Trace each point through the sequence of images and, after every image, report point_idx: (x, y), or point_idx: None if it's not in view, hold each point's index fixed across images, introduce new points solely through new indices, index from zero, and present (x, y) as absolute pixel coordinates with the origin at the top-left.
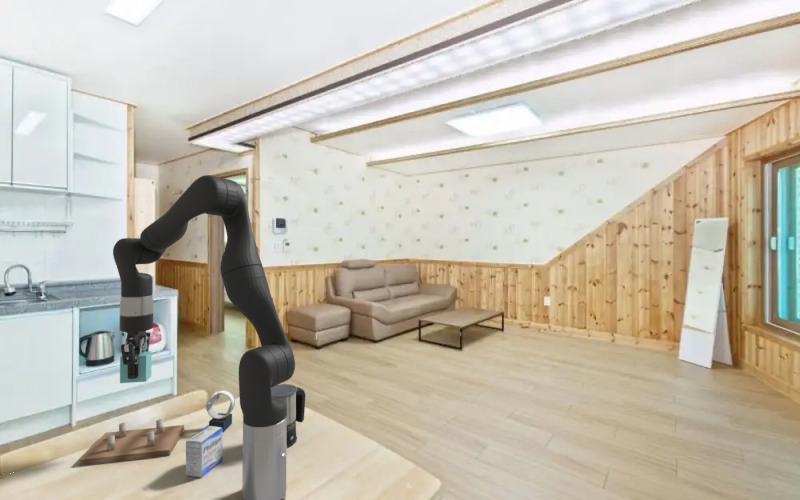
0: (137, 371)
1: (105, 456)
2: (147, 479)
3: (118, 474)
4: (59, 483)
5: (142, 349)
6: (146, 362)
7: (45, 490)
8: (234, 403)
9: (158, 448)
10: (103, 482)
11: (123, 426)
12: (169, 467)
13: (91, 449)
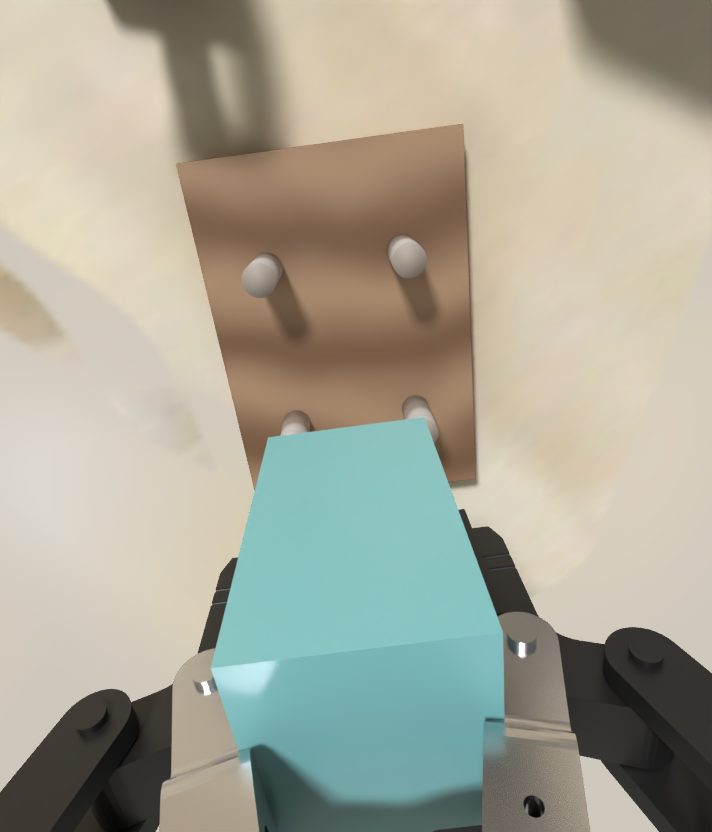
0: (472, 548)
1: (468, 399)
2: (650, 140)
3: (570, 291)
4: (574, 462)
5: (264, 813)
6: (450, 544)
7: (605, 477)
8: None
9: (439, 194)
10: (614, 319)
11: None
12: (573, 72)
13: None
